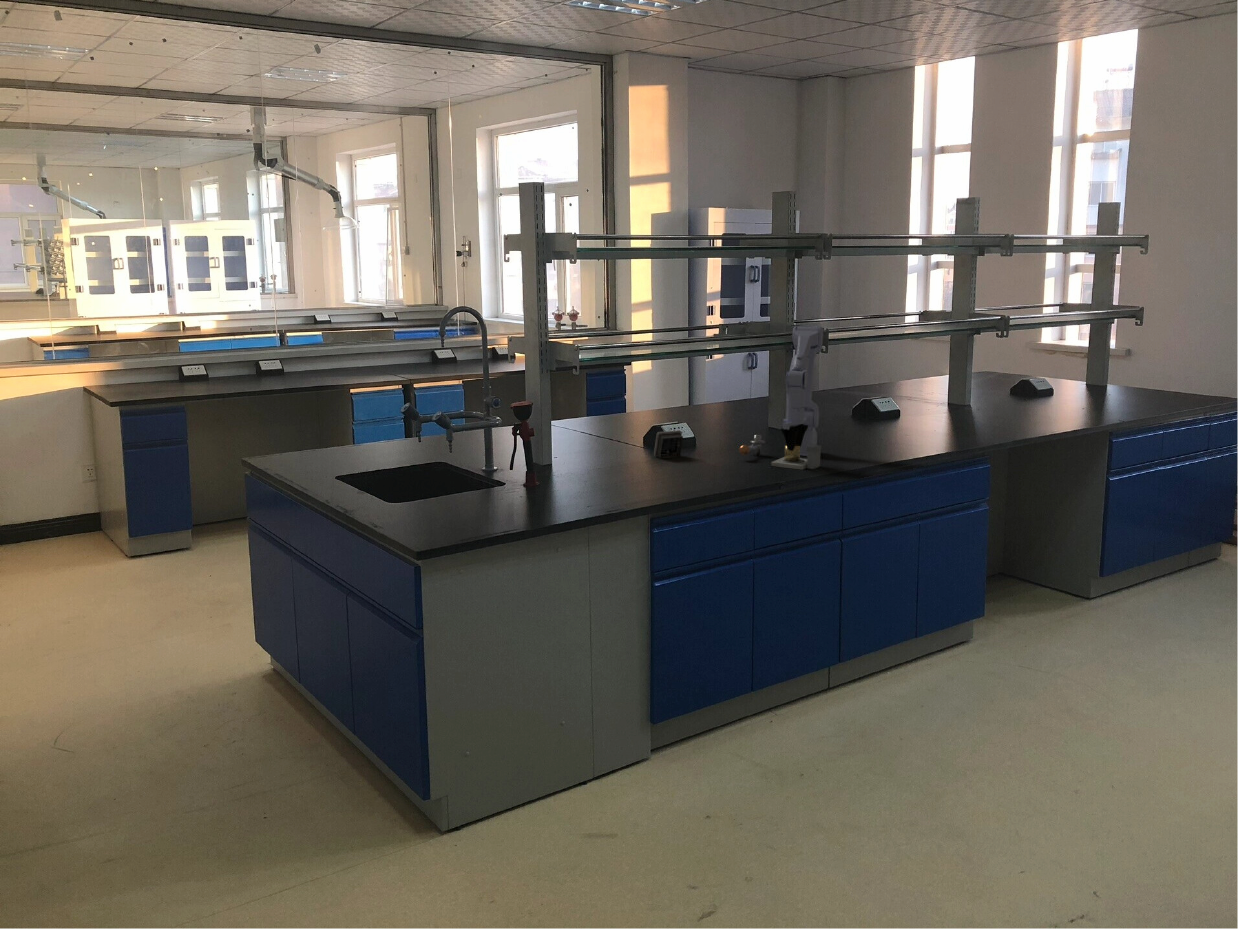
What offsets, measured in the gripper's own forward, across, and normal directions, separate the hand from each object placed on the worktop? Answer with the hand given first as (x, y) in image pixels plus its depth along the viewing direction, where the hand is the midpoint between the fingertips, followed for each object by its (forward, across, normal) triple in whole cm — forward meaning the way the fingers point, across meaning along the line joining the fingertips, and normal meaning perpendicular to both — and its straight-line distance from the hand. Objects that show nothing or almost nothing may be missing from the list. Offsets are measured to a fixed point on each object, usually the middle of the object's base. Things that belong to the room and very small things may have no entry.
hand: (794, 447), depth 335 cm
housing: (+4, 0, -1) cm, 4 cm away
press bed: (+6, 0, +2) cm, 6 cm away
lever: (+4, -1, -17) cm, 17 cm away
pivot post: (+6, -8, -17) cm, 19 cm away
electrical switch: (+6, +11, -41) cm, 43 cm away
